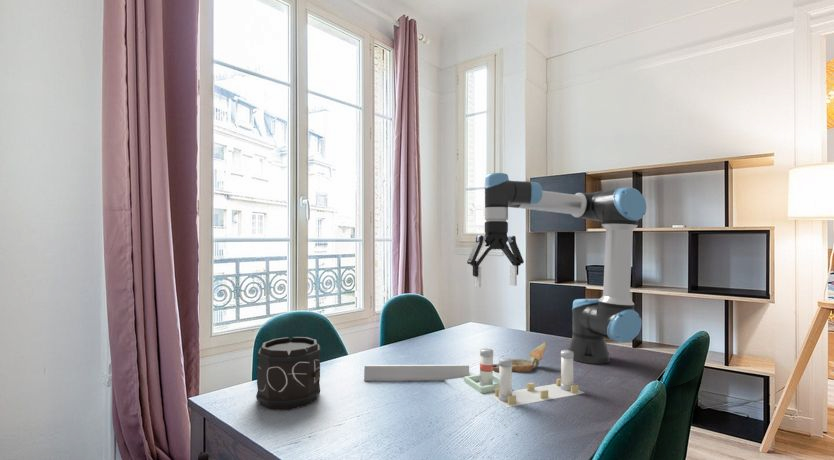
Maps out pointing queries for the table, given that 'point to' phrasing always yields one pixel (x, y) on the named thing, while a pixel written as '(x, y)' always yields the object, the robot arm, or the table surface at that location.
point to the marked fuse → (486, 367)
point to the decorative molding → (414, 372)
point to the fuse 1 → (505, 379)
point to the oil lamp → (523, 364)
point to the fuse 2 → (567, 369)
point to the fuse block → (537, 394)
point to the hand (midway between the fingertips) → (495, 286)
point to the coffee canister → (288, 373)
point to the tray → (482, 389)
